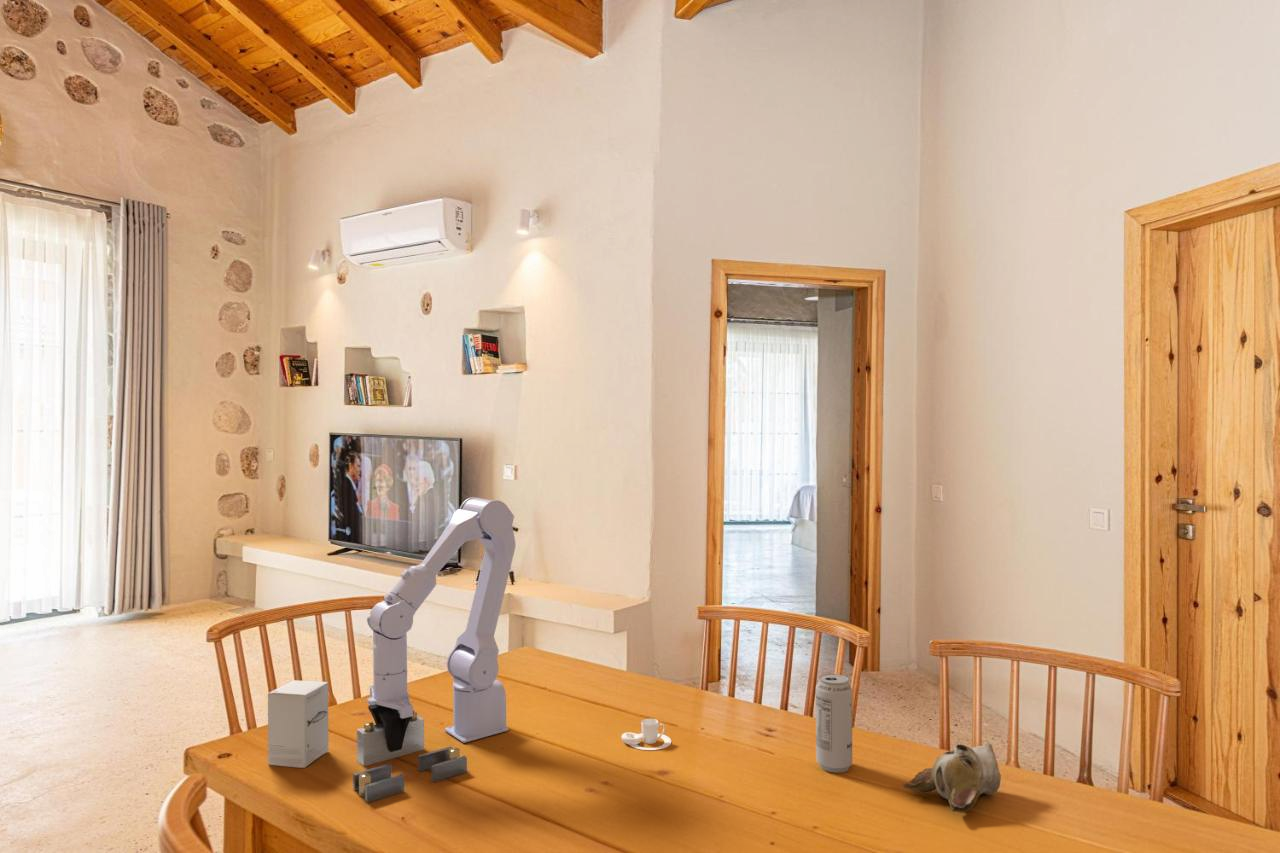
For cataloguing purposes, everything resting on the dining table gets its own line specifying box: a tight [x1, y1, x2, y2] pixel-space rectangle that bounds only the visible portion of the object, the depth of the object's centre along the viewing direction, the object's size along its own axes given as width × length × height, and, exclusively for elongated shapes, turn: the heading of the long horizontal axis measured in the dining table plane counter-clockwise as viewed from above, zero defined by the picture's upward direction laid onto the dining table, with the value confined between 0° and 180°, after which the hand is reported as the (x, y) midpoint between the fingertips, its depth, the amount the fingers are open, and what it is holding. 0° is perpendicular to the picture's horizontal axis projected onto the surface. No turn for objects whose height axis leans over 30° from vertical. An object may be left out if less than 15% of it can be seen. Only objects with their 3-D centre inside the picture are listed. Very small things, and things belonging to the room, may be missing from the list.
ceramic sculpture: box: [902, 742, 1002, 813], centre depth 127 cm, size 11×9×15 cm
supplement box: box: [267, 679, 329, 769], centre depth 144 cm, size 7×7×13 cm
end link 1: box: [352, 763, 405, 804], centre depth 131 cm, size 6×6×3 cm
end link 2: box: [417, 745, 468, 783], centre depth 138 cm, size 6×6×3 cm
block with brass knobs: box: [356, 711, 425, 767], centre depth 145 cm, size 11×3×6 cm, turn 129°
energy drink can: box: [815, 673, 853, 774], centre depth 139 cm, size 6×6×15 cm
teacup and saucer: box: [620, 718, 672, 751], centre depth 150 cm, size 9×8×4 cm
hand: (391, 746), depth 145 cm, fingers closed on block with brass knobs, 3 cm apart
